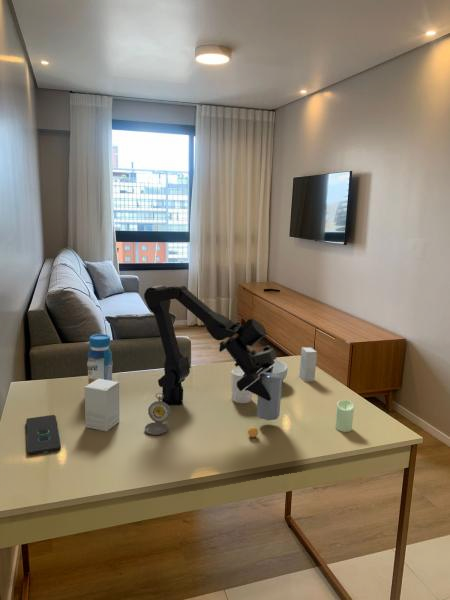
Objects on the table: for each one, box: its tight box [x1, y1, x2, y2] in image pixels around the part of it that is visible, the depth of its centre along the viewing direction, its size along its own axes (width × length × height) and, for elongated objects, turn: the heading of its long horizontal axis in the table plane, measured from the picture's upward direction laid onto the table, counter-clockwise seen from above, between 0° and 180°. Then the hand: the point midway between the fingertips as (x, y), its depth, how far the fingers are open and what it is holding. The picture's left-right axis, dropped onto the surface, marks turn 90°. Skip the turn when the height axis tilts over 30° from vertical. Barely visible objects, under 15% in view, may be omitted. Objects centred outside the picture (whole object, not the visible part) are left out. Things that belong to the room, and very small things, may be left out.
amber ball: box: [247, 426, 259, 438], centre depth 130 cm, size 3×3×3 cm
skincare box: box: [298, 347, 318, 382], centre depth 177 cm, size 6×4×12 cm
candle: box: [334, 399, 355, 433], centre depth 137 cm, size 5×5×8 cm
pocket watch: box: [144, 392, 171, 436], centre depth 131 cm, size 8×8×10 cm
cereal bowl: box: [258, 359, 289, 382], centre depth 172 cm, size 17×17×7 cm
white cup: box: [230, 367, 253, 404], centre depth 155 cm, size 8×8×10 cm
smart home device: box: [25, 414, 62, 457], centre depth 125 cm, size 8×2×20 cm
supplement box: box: [83, 379, 121, 432], centre depth 132 cm, size 7×7×13 cm
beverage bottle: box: [86, 333, 114, 385], centre depth 154 cm, size 8×8×20 cm
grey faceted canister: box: [256, 372, 283, 421], centre depth 136 cm, size 7×7×12 cm
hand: (273, 395), depth 136 cm, fingers closed on grey faceted canister, 6 cm apart
